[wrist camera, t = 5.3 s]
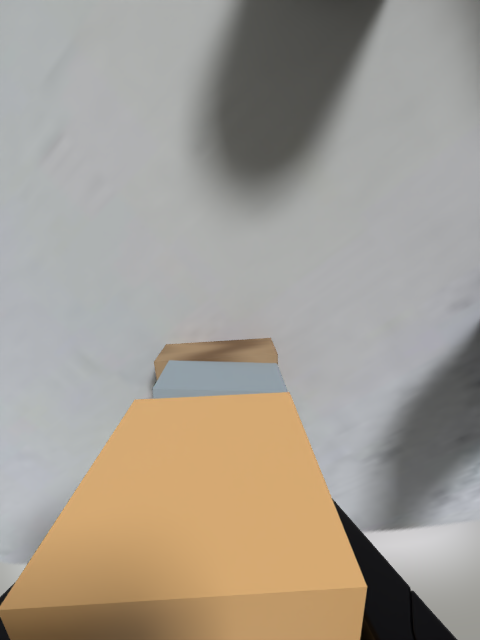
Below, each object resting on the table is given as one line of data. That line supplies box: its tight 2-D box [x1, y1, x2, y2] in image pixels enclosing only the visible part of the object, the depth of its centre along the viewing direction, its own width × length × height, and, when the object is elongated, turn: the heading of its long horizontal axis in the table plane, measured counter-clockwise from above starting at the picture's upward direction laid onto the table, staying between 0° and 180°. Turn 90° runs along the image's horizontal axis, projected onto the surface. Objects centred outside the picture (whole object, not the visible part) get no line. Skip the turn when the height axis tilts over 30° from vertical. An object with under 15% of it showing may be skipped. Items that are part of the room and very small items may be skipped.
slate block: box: [153, 360, 288, 399], centre depth 16 cm, size 7×7×4 cm
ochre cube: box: [0, 392, 367, 640], centre depth 7 cm, size 5×5×5 cm
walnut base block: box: [154, 338, 278, 380], centre depth 19 cm, size 8×8×4 cm
